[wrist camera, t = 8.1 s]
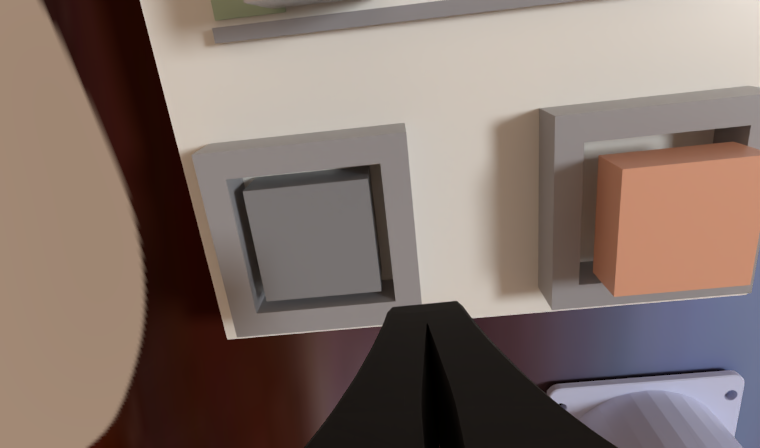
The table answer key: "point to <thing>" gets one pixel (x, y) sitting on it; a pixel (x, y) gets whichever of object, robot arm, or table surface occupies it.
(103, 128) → the table surface
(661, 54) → the control panel
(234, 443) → the table surface
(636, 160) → the terracotta button
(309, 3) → the slider knob
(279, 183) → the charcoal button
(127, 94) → the table surface
